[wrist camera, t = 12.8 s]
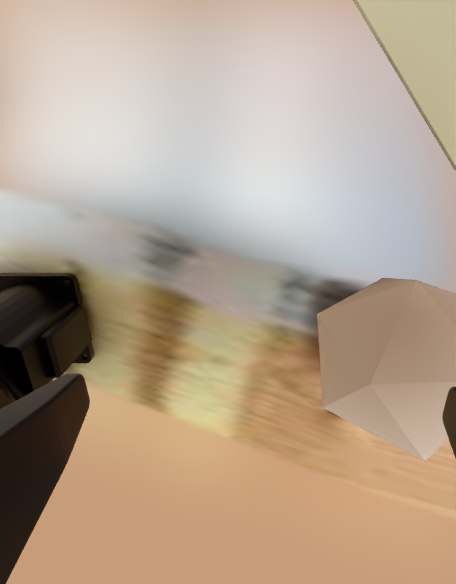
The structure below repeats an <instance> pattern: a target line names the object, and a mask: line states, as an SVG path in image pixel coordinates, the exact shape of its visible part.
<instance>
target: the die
mask: <svg viewBox="0 0 456 584" xmlns="http://www.w3.org/2000/svg"><path fill="white" fill-rule="evenodd" d="M317 321H318V337H319V353H320V369H321V385H322V401H323V408H324V409H326V410H328V411H330V412H332V413H334V414H336V415H338V416H340V417H341V418H343V419H345V420H347V421H349V422H351V423H353V424H355V425H357V426H359V427H361V428H362V429H364V430H366V431H368V432H370V433H372V434H374V435H376V436H378V437H380V438H382V439H384V440H385V441H387V442H389V443H391V444H393V445H395V446H397V447H399V448H401V449H403V450H405V451H406V452H408V453H410V454H412V455H414V456H416V457H418V458H420V459H422V460H424V461H425V460H427V459H428V458H429V457H430V456H431V455H432V454H434V453H435V452H436V451H437V450H438V449H439V448H440V447H442V446H443V445H444V444H445V443H446V442H447V441H448V440H449V438H448V435H447V433H446V430H445V427H444V424H443V419H442V415H443V410H444V406H445V402H446V399H447V395H448V391H449V389H450V388H451V387H454V386H455V387H456V294H454V293H451V292H448V291H446V290H443V289H440V288H437V287H434V286H431V285H428V284H425V283H422V282H420V281H417V280H405V279H390V278H382V279H380V280H379V281H377V282H375V283H373V284H371V285H369V286H367V287H366V288H364V289H362V290H360V291H358V292H356V293H355V294H353V295H351V296H349V297H347V298H345V299H344V300H342V301H340V302H338V303H336V304H334V305H333V306H331V307H329V308H327V309H325V310H323V311H322V312H320V313H318V314H317Z"/></svg>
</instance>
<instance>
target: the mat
mask: <svg viewBox="0 0 456 584" xmlns="http://www.w3.org/2000/svg"><path fill="white" fill-rule="evenodd" d="M353 1H354V2H355V4H356V6H357V7H358V9H359V11H360V12H361V14H362V16H363V17H364V19H365V21H366V22H367V24H368V26H369V27H370V29H371V31H372V32H373V34H374V36H375V38H376V39H377V41H378V43H379V44H380V46H381V48H382V49H383V51H384V53H385V54H386V56H387V58H388V59H389V61H390V63H391V64H392V66H393V68H394V69H395V71H396V73H397V74H398V76H399V78H400V79H401V81H402V82H403V84H404V86H405V88H406V89H407V91H408V93H409V94H410V96H411V98H412V99H413V101H414V103H415V104H416V106H417V107H418V109H419V111H420V113H421V114H422V116H423V118H424V119H425V121H426V123H427V124H428V126H429V128H430V129H431V131H432V133H433V134H434V136H435V138H436V139H437V141H438V143H439V144H440V146H441V148H442V149H443V151H444V153H445V155H446V156H447V158H448V160H449V161H450V163H451V165H452V166H453V168H454V169H455V170H456V0H353Z"/></svg>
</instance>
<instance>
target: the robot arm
mask: <svg viewBox="0 0 456 584" xmlns="http://www.w3.org/2000/svg"><path fill="white" fill-rule="evenodd" d="M66 280H68V281H69V282H70V285H69V284H67V283H66ZM91 340H92V338H91V333H90V329H89V324H88V320H87V316H86V311H85V308H84V307H83V305H82V301H81V296H80V292H79V288H78V283H77V280H76V278H75V277H74V276H73V275H71V274H0V584H6V582H7V580H8V578H9V576H10V574H11V572H12V570H13V568H14V566H15V564H16V563H17V561H18V559H19V557H20V555H21V552H22V551H23V549H24V547H25V545H26V543H27V541H28V539H29V537H30V535H31V533H32V531H33V529H34V527H35V525H36V523H37V521H38V519H39V517H40V515H41V513H42V511H43V509H44V507H45V505H46V504H47V502H48V500H49V498H50V496H51V494H52V492H53V490H54V488H55V486H56V484H57V482H58V480H59V478H60V476H61V474H62V472H63V470H64V468H65V466H66V464H67V462H68V459H69V457H70V455H71V452H72V450H73V447H74V444H75V442H76V439H77V437H78V434H79V432H80V429H81V427H82V424H83V421H84V419H85V416H86V413H87V411H88V408H89V403H90V400H89V395H88V391H87V387H86V383H85V379H84V377H83V375H81V374H65V375H63V373H64V372H65V371H66V370H67V369H68V368H69V366H70V365H71V364H72V363H89V362H90V361H91V360H92V359H93V357H94V353H93V349H92V344H91ZM84 354H85V355H87V357H86V356H84ZM62 375H63V376H62ZM54 378H57V379H55V380H54V381H52V380H53V379H54ZM51 381H52V382H51ZM442 419H443V424H444V427H445V430H446V433H447V435H448V438H449V441H450V444H451V447H452V449H453V452H454V455H455V458H456V387H455V386H454V387H451V388H450V389H449V391H448V395H447V399H446V402H445V406H444V410H443V415H442Z"/></svg>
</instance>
